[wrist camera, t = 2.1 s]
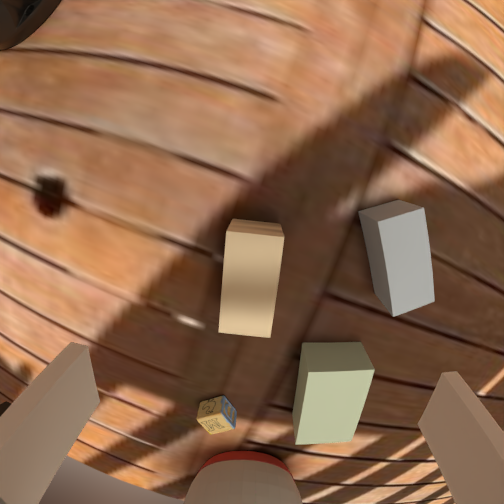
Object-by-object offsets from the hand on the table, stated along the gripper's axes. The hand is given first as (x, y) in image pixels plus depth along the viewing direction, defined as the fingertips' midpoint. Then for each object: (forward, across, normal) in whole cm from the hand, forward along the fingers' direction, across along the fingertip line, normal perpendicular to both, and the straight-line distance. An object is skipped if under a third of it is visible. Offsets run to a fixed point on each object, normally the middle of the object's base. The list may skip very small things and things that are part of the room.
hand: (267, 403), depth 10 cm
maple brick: (+18, -1, -1) cm, 18 cm away
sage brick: (+19, +8, -13) cm, 24 cm away
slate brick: (+18, +11, +2) cm, 21 cm away
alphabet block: (+19, -4, -18) cm, 26 cm away
